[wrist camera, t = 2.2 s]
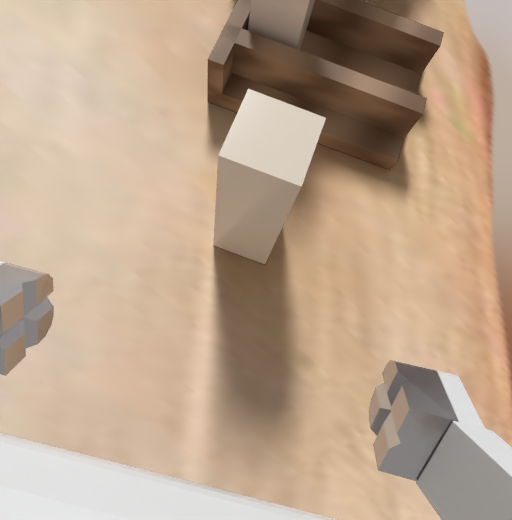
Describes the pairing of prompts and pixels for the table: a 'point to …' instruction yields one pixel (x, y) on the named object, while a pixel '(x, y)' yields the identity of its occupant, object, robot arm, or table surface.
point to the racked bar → (281, 20)
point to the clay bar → (261, 173)
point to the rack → (333, 73)
